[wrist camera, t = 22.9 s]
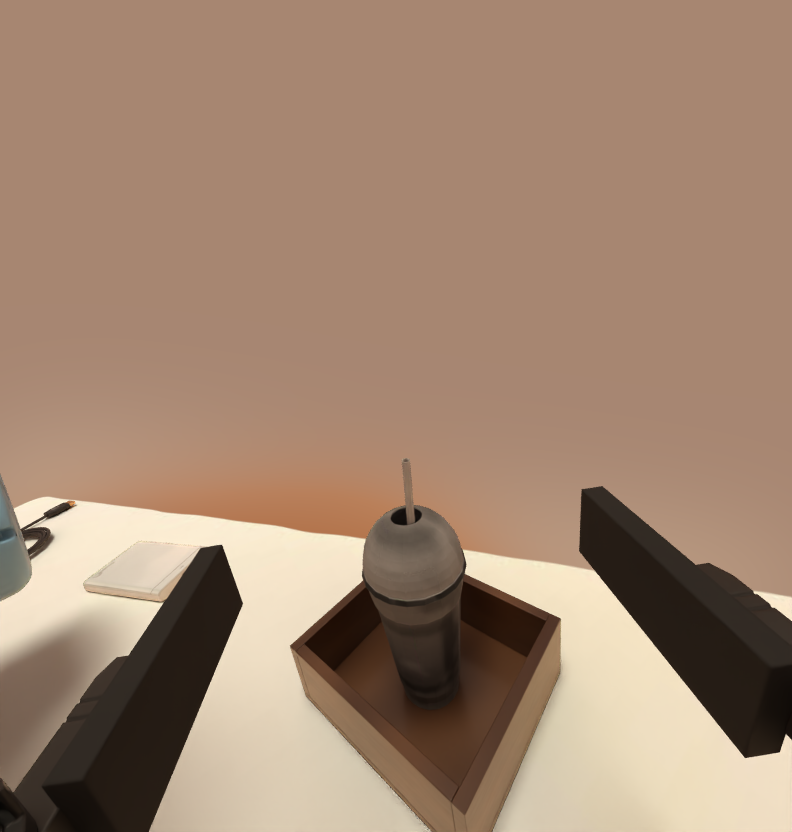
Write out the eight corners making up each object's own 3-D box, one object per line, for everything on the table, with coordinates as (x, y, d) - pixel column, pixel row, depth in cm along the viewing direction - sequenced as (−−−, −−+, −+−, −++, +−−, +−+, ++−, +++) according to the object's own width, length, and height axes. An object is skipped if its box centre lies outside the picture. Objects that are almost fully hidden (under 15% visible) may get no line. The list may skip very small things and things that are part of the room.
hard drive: (81, 582, 45) (156, 592, 42) (140, 539, 53) (208, 544, 49) (86, 593, 46) (162, 603, 42) (144, 548, 53) (212, 554, 49)
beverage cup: (443, 624, 34) (417, 423, 27) (497, 694, 27) (480, 454, 21) (371, 665, 31) (324, 452, 24) (414, 754, 25) (365, 499, 18)
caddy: (305, 695, 30) (289, 645, 28) (409, 587, 39) (402, 544, 37) (473, 876, 20) (464, 815, 18) (560, 671, 29) (561, 618, 27)
